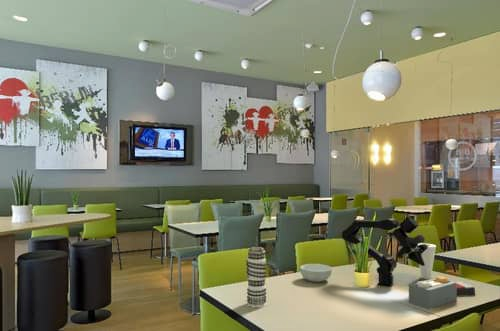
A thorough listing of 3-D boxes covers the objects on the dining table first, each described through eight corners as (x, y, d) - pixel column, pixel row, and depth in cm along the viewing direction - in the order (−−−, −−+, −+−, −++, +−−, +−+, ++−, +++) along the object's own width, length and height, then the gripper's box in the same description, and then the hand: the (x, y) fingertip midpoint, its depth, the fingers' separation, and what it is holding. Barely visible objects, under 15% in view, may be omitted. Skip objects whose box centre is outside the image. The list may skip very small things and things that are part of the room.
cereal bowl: (295, 281, 209) (295, 268, 210) (307, 274, 224) (307, 262, 224) (325, 286, 201) (325, 272, 201) (336, 278, 215) (336, 266, 215)
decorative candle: (242, 303, 174) (241, 247, 174) (258, 299, 179) (258, 245, 180) (254, 309, 167) (254, 250, 167) (271, 304, 172) (270, 248, 173)
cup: (416, 279, 212) (416, 246, 213) (414, 274, 223) (414, 243, 223) (438, 281, 209) (437, 247, 210) (435, 276, 220) (434, 243, 220)
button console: (408, 302, 174) (408, 284, 175) (435, 294, 186) (435, 277, 186) (429, 309, 166) (429, 289, 166) (456, 300, 178) (456, 281, 178)
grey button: (415, 289, 173) (414, 282, 173) (421, 287, 176) (421, 280, 176) (425, 291, 169) (425, 284, 169) (432, 289, 172) (432, 283, 172)
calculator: (432, 282, 195) (459, 279, 196) (432, 291, 195) (460, 288, 196) (445, 289, 184) (475, 286, 186) (446, 298, 184) (475, 295, 185)
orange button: (433, 284, 181) (433, 277, 181) (439, 282, 183) (439, 275, 183) (443, 286, 176) (443, 279, 177) (449, 284, 179) (449, 278, 179)
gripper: (401, 230, 187) (423, 258, 178) (424, 227, 197) (446, 253, 188) (387, 244, 194) (407, 271, 184) (410, 241, 204) (430, 266, 194)
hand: (423, 265), depth 187 cm, fingers closed
